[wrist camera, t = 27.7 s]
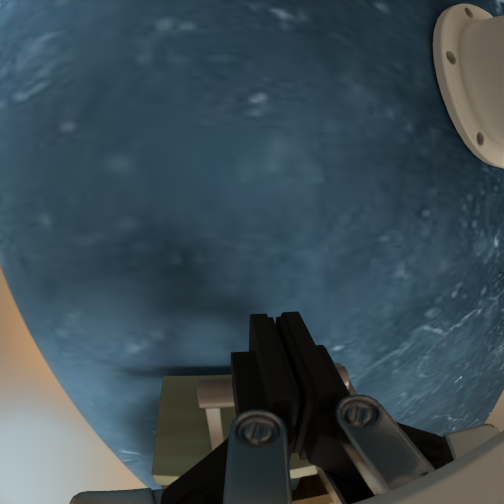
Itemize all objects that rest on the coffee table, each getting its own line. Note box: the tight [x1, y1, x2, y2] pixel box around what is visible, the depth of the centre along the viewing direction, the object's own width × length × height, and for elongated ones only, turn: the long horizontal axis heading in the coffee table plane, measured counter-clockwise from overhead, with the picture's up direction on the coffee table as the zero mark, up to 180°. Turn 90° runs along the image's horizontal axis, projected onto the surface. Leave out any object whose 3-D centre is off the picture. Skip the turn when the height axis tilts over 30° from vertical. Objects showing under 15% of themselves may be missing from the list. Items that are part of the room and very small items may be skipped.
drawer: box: [152, 363, 357, 501], centre depth 16 cm, size 18×11×7 cm, turn 179°
